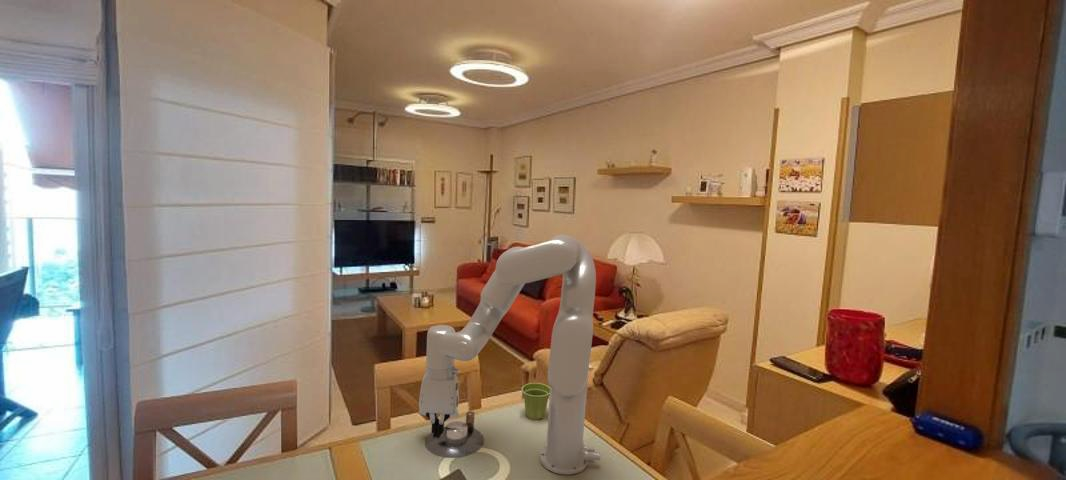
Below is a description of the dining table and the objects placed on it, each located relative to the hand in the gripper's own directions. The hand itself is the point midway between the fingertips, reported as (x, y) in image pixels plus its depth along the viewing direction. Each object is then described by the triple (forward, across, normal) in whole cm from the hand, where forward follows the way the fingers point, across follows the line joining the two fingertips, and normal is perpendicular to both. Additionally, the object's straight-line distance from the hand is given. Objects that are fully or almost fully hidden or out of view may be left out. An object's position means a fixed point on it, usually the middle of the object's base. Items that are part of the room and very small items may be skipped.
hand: (437, 435), depth 126 cm
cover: (+1, -5, 0) cm, 5 cm away
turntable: (+2, -5, 0) cm, 5 cm away
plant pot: (+2, -26, -20) cm, 33 cm away
